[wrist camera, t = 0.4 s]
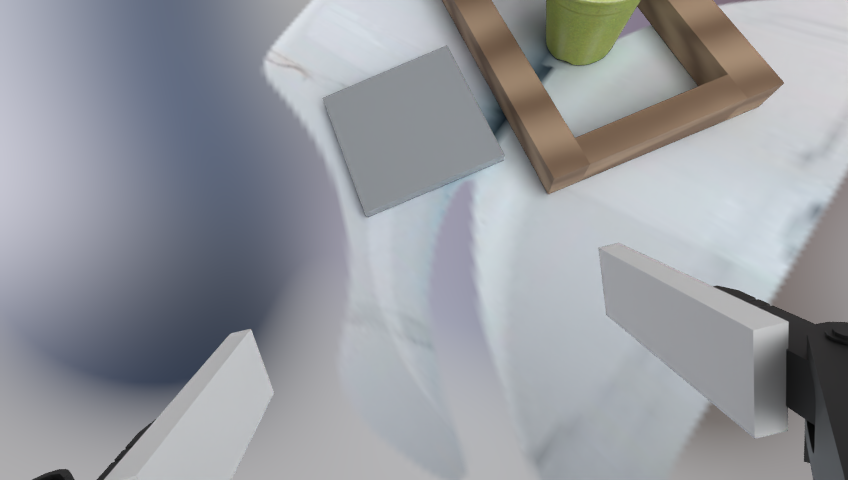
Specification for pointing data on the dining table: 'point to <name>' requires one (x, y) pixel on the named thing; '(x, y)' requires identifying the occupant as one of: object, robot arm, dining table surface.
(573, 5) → the plant pot
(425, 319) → the dining table surface
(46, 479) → the robot arm
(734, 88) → the open rectangular wooden frame
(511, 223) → the dining table surface
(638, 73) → the dining table surface
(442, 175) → the slate coaster
